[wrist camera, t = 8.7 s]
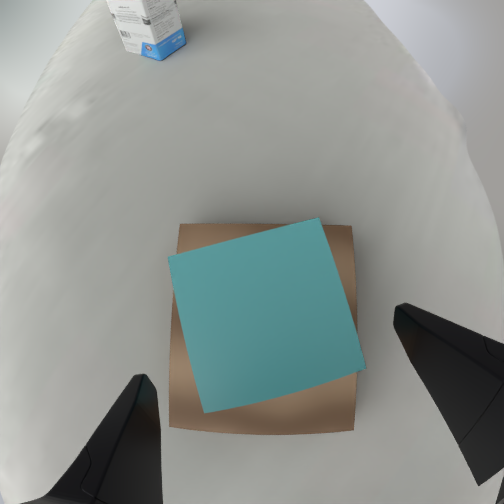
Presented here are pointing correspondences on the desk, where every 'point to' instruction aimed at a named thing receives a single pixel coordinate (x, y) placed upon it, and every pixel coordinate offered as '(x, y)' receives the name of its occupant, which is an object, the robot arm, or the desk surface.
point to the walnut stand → (277, 409)
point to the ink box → (148, 26)
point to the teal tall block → (264, 316)
